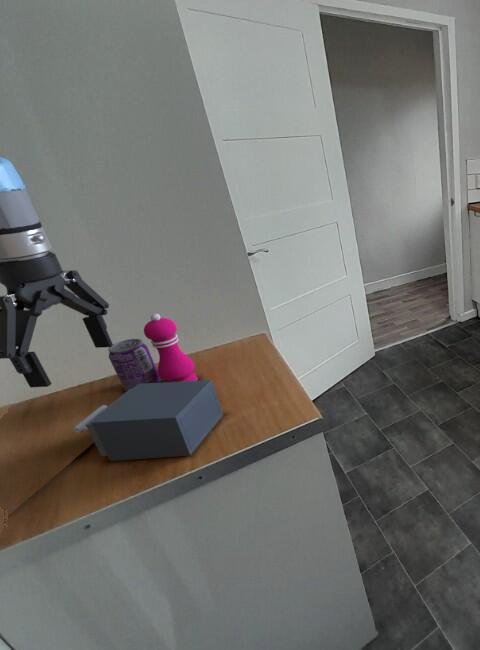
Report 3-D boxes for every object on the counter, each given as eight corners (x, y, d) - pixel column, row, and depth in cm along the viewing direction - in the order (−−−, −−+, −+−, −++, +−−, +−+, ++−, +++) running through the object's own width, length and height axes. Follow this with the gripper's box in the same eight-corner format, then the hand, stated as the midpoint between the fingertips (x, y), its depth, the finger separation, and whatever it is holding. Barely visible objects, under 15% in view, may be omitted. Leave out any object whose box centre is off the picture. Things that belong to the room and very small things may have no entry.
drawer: (73, 458, 80) (55, 426, 76) (117, 419, 90) (103, 390, 87) (175, 451, 82) (163, 420, 79) (207, 414, 92) (197, 385, 89)
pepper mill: (165, 396, 99) (133, 324, 91) (164, 382, 104) (134, 312, 96) (201, 385, 103) (174, 315, 95) (198, 372, 108) (172, 304, 100)
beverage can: (161, 374, 107) (144, 334, 102) (162, 387, 102) (144, 346, 97) (125, 384, 103) (106, 343, 98) (125, 398, 98) (104, 356, 93)
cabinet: (110, 461, 80) (90, 422, 76) (153, 419, 92) (138, 383, 88) (190, 455, 82) (175, 417, 78) (223, 415, 93) (211, 380, 89)
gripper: (-37, 281, 57) (33, 405, 65) (106, 236, 79) (144, 332, 88) (-99, 283, 56) (-19, 408, 65) (63, 237, 79) (106, 334, 87)
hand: (75, 364), depth 76 cm, fingers open, 13 cm apart
